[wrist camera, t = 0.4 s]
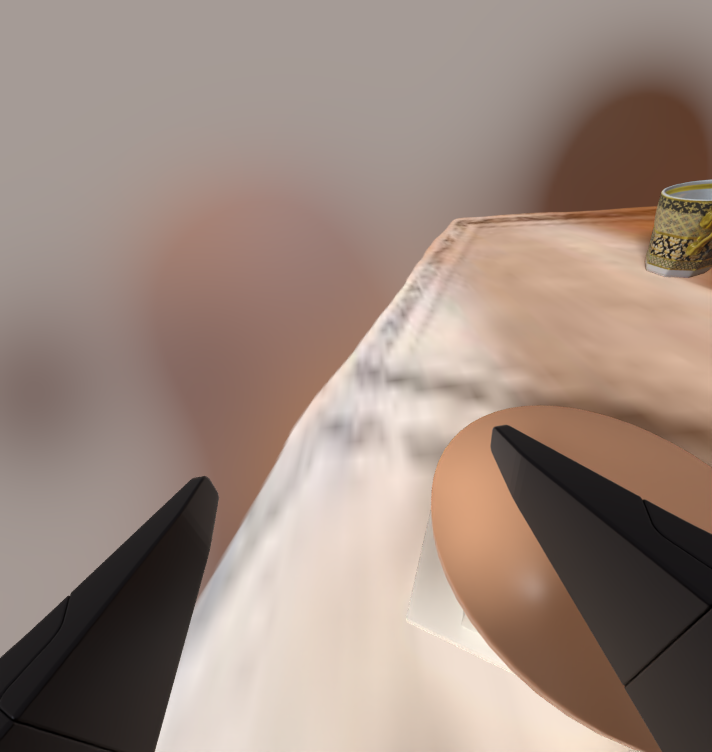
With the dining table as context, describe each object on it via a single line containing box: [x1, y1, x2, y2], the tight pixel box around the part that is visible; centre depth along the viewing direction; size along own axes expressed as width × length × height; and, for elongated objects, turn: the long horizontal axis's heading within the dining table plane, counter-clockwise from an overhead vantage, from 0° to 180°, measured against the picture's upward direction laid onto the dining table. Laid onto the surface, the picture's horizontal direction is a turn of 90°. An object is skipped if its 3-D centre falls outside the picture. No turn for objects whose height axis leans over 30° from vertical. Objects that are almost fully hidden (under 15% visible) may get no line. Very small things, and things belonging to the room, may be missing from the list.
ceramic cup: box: [645, 180, 712, 278], centre depth 38 cm, size 13×10×10 cm
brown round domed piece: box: [431, 405, 712, 752], centre depth 13 cm, size 12×12×6 cm
